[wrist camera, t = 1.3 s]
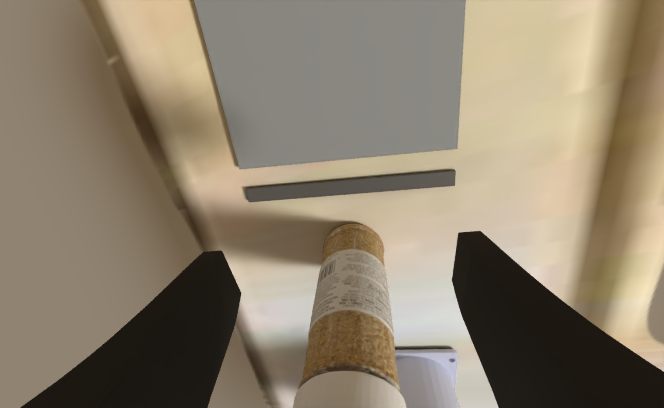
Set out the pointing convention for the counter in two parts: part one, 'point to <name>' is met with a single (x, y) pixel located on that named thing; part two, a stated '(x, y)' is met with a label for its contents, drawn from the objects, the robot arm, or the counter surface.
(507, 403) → the robot arm
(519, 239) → the counter surface
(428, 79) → the mat
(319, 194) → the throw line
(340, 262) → the sprinkles bottle
